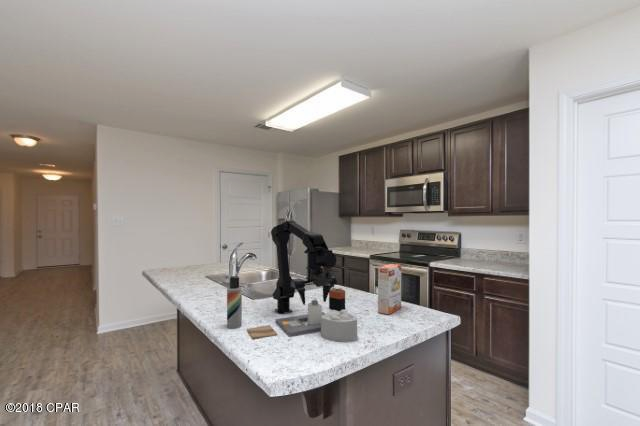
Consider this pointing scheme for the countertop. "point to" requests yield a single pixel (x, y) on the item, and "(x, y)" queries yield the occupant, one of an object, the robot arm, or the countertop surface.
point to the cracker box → (389, 288)
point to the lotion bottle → (234, 303)
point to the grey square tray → (297, 325)
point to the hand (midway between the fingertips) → (314, 303)
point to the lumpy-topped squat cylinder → (339, 326)
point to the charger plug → (314, 312)
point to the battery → (337, 299)
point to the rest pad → (261, 332)
